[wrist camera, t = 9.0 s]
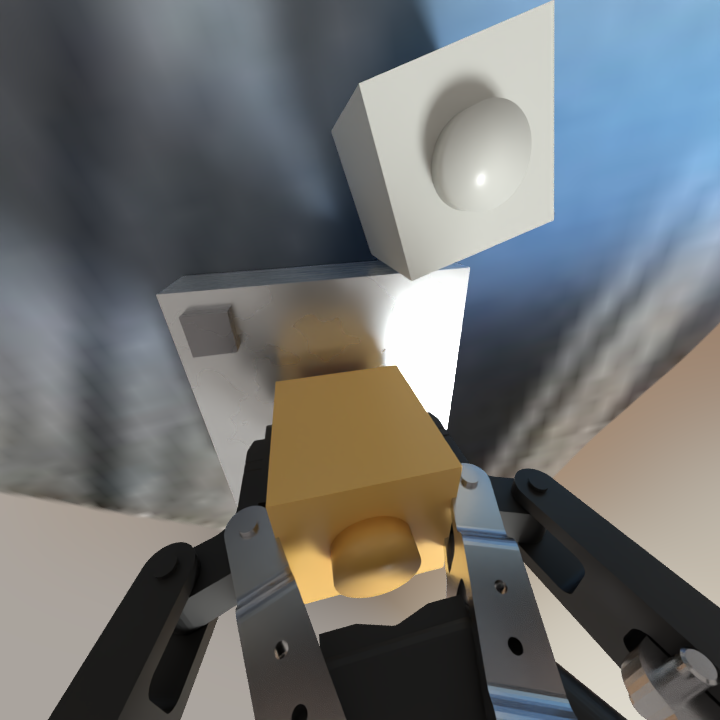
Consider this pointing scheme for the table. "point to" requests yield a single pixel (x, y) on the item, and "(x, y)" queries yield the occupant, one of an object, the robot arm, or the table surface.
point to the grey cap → (455, 146)
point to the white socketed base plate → (308, 338)
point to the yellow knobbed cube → (358, 483)
